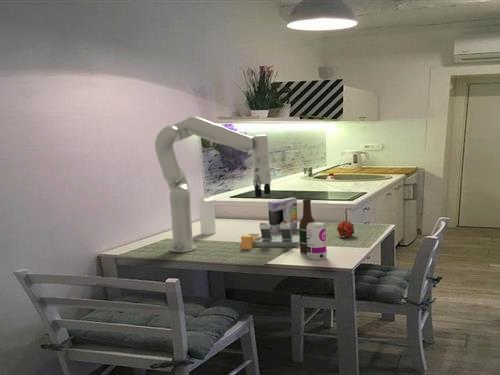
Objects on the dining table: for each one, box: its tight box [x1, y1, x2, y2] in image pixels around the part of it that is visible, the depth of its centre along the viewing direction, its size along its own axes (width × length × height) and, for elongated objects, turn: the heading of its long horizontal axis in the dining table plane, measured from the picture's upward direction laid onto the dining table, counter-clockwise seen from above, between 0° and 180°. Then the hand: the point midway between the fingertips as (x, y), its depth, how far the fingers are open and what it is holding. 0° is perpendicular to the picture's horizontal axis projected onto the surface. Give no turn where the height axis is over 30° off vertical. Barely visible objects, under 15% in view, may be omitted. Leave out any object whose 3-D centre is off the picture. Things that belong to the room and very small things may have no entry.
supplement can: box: [306, 221, 328, 261], centre depth 200 cm, size 8×8×15 cm
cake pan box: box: [267, 197, 299, 235], centre depth 259 cm, size 19×5×18 cm, turn 129°
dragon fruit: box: [336, 220, 355, 237], centre depth 239 cm, size 8×8×12 cm
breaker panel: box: [240, 233, 300, 248], centre depth 231 cm, size 14×28×4 cm, turn 76°
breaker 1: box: [259, 222, 273, 239], centre depth 227 cm, size 2×5×9 cm, turn 76°
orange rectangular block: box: [240, 234, 253, 250], centre depth 224 cm, size 4×4×6 cm
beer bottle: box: [298, 198, 316, 255], centre depth 211 cm, size 8×8×24 cm
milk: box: [198, 193, 216, 236], centre depth 261 cm, size 6×6×22 cm
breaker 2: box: [280, 223, 293, 239], centre depth 225 cm, size 2×5×9 cm, turn 76°
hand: (263, 195), depth 229 cm, fingers open, 9 cm apart
